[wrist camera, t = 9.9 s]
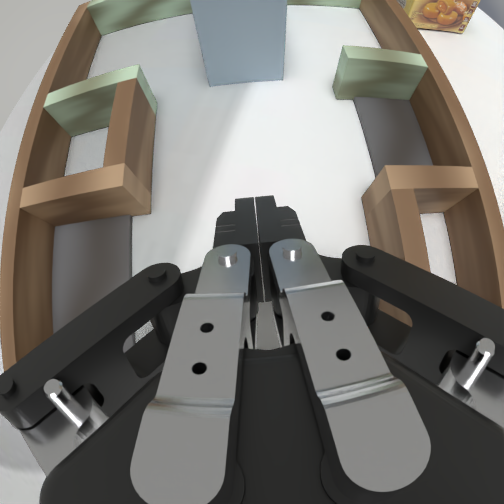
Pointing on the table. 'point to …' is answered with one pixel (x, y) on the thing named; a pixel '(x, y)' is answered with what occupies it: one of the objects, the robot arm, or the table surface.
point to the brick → (241, 39)
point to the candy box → (440, 13)
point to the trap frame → (141, 157)
